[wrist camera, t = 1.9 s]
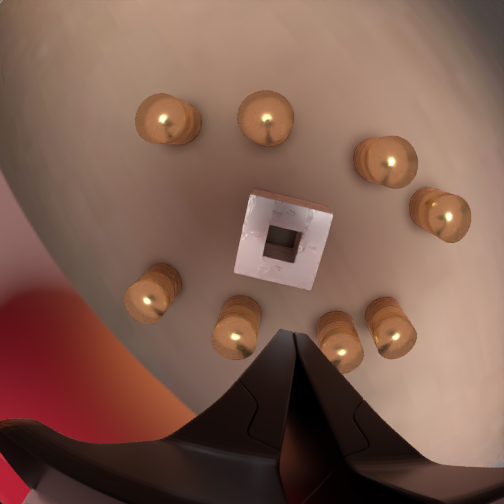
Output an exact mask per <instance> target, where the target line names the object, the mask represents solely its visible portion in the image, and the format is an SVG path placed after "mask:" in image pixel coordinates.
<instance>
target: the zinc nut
mask: <svg viewBox="0 0 504 504" xmlns="http://www.w3.org/2000/svg"><path fill="white" fill-rule="evenodd" d="M332 218H333V213H332V212H331V211H330V210H329V209H328V207H327V206H324V205H321V204H317V203H313V202H309V201H305V200H301V199H297V198H293V197H289V196H284V195H280V194H276V193H272V192H267V191H263V190H259V189H254V190H253V191H252V193H251V194H250V197H249V201H248V206H247V211H246V215H245V220H244V225H243V230H242V234H241V239H240V244H239V249H238V253H237V258H236V263H235V268H234V273H237V274H241V275H245V276H250V277H254V278H258V279H262V280H267V281H271V282H275V283H280V284H284V285H288V286H293V287H297V288H302V289H306V290H311V289H312V286H313V282H314V279H315V276H316V273H317V270H318V266H319V263H320V260H321V256H322V253H323V250H324V246H325V243H326V240H327V236H328V233H329V229H330V226H331V222H332ZM269 225H273V226H277V227H281V228H285V229H290V230H294V231H297V235H296V238H295V242H294V246H293V249H292V248H288V247H284V246H280V245H275V244H271V243H267V242H266V238H267V234H268V230H269Z"/></svg>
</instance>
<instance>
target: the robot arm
mask: <svg viewBox="0 0 504 504" xmlns="http://www.w3.org/2000/svg"><path fill="white" fill-rule="evenodd" d="M0 452H1V454H2V455H3V457H4V458H5V459H6V460H7V462H8V463H9V464H10V466H11V467H12V468H13V469H14V471H15V472H16V473H17V474H18V475H19V477H20V478H21V479H22V480H23V481H24V482H25V483H26V485H27V486H28V487H29V488H30V489H31V491H30V492H29V494H28V496H27V497H26V499H25V500H24V502H23V504H504V468H485V467H463V466H451V465H442V464H438V463H435V462H433V461H431V460H429V459H427V458H426V457H424V456H423V455H422V454H421V453H419V452H418V451H417V450H416V449H415V448H414V447H413V446H411V445H410V444H409V443H408V442H407V441H406V440H405V439H404V438H402V437H401V436H400V435H399V434H398V433H397V432H396V431H395V430H393V429H392V428H391V427H390V426H389V425H388V424H387V423H386V422H385V421H384V420H383V419H382V418H381V417H380V416H379V415H378V414H377V413H376V412H375V411H374V410H373V409H372V408H371V406H370V405H369V404H368V403H367V402H366V401H365V400H363V398H362V396H361V395H360V394H359V393H358V392H357V391H356V390H355V389H354V387H353V386H352V385H351V384H350V383H349V382H348V381H347V380H346V378H345V377H344V376H343V375H342V374H341V373H340V372H339V371H338V369H337V368H336V367H335V366H334V365H333V364H332V363H331V361H330V360H329V359H328V358H327V357H326V356H325V355H324V353H323V352H322V351H321V350H320V349H319V348H318V347H317V345H316V344H315V343H314V342H313V341H312V340H311V339H310V337H309V336H308V335H307V334H303V333H298V332H294V333H293V332H292V331H288V330H283V329H280V330H279V331H278V332H277V333H276V334H275V336H274V337H273V338H272V339H271V341H270V342H269V343H268V344H267V345H266V347H265V348H264V349H263V350H262V351H261V353H260V354H259V355H258V356H257V357H256V359H255V360H254V361H253V362H252V363H251V365H250V366H249V367H248V368H247V369H246V370H245V372H244V373H243V374H242V375H241V376H240V377H239V379H238V380H237V381H236V382H235V383H234V384H233V385H232V386H231V387H230V388H229V389H228V391H227V392H226V393H225V394H224V395H223V396H222V397H221V398H219V399H218V400H217V401H216V402H215V403H213V404H212V405H211V406H210V407H209V408H207V409H206V410H205V411H203V412H202V413H201V414H199V415H198V416H197V417H195V418H194V419H193V420H191V421H190V422H188V423H187V424H186V425H184V426H183V427H181V428H180V429H179V430H177V431H176V432H174V433H172V434H171V435H169V436H167V437H165V438H163V439H160V440H155V441H143V442H129V443H105V444H104V443H103V444H102V443H101V444H99V443H88V442H82V441H78V440H75V439H72V438H69V437H67V436H65V435H62V434H60V433H58V432H57V431H55V430H53V429H52V428H50V427H48V426H46V425H44V424H42V423H41V422H38V421H36V420H33V419H28V418H23V419H17V418H15V419H6V420H2V421H0ZM0 504H2V503H1V502H0Z"/></svg>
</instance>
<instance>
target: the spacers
mask: <svg viewBox="0 0 504 504" xmlns="http://www.w3.org/2000/svg"><path fill="white" fill-rule="evenodd" d="M293 122H294V112H293V109H292V106H291V105H290V103H289V102H288V100H287V99H286V98H285V97H283V96H282V95H280V94H279V93H276V92H273V91H258V92H255V93H253V94H251V95H249V96H248V97H247V98H246V99H245V100H244V101H243V102H242V104H241V105H240V107H239V110H238V124H239V127H240V129H241V131H242V132H243V133H244V135H245V136H246V137H248V138H249V139H250V140H252V141H254V142H256V143H258V144H261V145H264V146H274V145H277V144H280V143H282V142H283V141H284V140H285V139H286V138H287V137H288V136H289V134H290V132H291V129H292V126H293ZM135 125H136V129H137V132H138V133H139V135H140V136H141V137H142V138H143V139H144V140H146V141H147V142H150V143H159V144H178V145H180V144H186V143H188V142H190V141H192V140H193V139H194V138H195V137H196V136H197V134H198V133H199V130H200V127H201V117H200V114H199V112H198V111H197V109H196V108H195V107H193V106H192V105H190V104H188V103H186V102H183V101H181V100H179V99H177V98H175V97H173V96H171V95H168V94H164V93H160V94H155V95H152V96H150V97H148V98H147V99H146V100H144V101H143V103H142V104H141V105H140V106H139V108H138V110H137V113H136V117H135ZM354 164H355V168H356V170H357V171H358V173H359V174H360V175H361V176H362V177H363V178H364V179H366V180H369V181H372V182H374V183H377V184H380V185H383V186H386V187H389V188H394V189H397V188H402V187H405V186H407V185H408V184H409V183H410V182H411V181H412V180H413V179H414V177H415V175H416V173H417V169H418V158H417V155H416V152H415V150H414V148H413V147H412V145H411V144H410V143H409V142H408V141H407V140H405V139H403V138H401V137H398V136H386V137H379V138H372V139H367V140H365V141H363V142H361V143H360V144H359V145H358V147H357V148H356V150H355V153H354ZM410 215H411V217H412V219H413V221H414V222H415V223H416V224H417V225H419V226H420V227H422V228H424V229H425V230H427V231H428V232H430V233H432V234H433V235H435V236H437V237H438V238H440V239H441V240H443V241H445V242H447V243H454V242H457V241H459V240H461V239H462V238H463V237H464V236H465V235H466V233H467V231H468V229H469V227H470V223H471V211H470V208H469V205H468V204H467V202H466V201H465V200H464V199H463V198H461V197H459V196H456V195H453V194H450V193H447V192H443V191H440V190H437V189H433V188H430V187H424V188H421V189H419V190H418V191H417V192H416V193H415V194H414V195H413V197H412V199H411V202H410ZM180 290H181V279H180V276H179V274H178V273H177V272H176V270H175V269H173V268H172V267H171V266H169V265H166V264H156V265H153V266H152V267H151V268H150V269H149V270H147V271H146V272H145V273H144V274H143V275H142V276H141V277H140V278H139V279H138V280H137V281H136V282H135V283H134V284H133V285H132V286H130V287H129V288H128V289H127V291H126V292H125V295H124V304H125V307H126V309H127V311H128V312H129V314H130V315H131V316H132V317H133V318H134V319H136V320H137V321H139V322H141V323H144V324H153V323H156V322H158V321H159V320H160V319H161V317H162V316H163V315H164V313H165V312H166V310H167V309H168V307H169V306H170V305H171V303H172V302H173V300H174V299H175V297H176V296H177V295H178V293H179V292H180ZM260 316H261V312H260V308H259V306H258V304H257V303H256V302H255V301H254V300H252V299H251V298H248V297H245V296H235V297H232V298H230V299H228V300H227V301H226V302H225V304H224V306H223V308H222V311H221V313H220V316H219V318H218V321H217V324H216V326H215V329H214V332H213V334H212V339H211V340H212V345H213V347H214V349H215V350H216V351H217V352H218V353H219V354H220V355H222V356H223V357H225V358H228V359H233V360H240V359H244V358H247V357H249V356H250V355H251V354H252V353H253V352H254V350H255V348H256V343H257V336H258V329H259V323H260ZM365 320H366V323H367V325H368V328H369V330H370V332H371V335H372V337H373V339H374V342H375V344H376V347H377V349H378V351H379V353H380V355H381V356H383V357H384V358H387V359H396V358H399V357H402V356H404V355H405V354H407V353H408V352H409V351H410V350H411V349H412V348H413V346H414V345H415V342H416V339H417V333H416V330H415V329H414V327H413V325H412V324H411V322H410V321H409V319H408V318H407V316H406V315H405V313H404V312H403V310H402V309H401V307H400V306H399V304H398V303H397V301H395V300H394V299H392V298H389V297H383V298H379V299H377V300H375V301H374V302H373V303H371V304H370V306H369V307H368V309H367V311H366V314H365ZM317 336H318V343H319V349H320V350H321V351H322V352H323V353H324V355H325V356H326V357H327V358H328V359H329V360H330V361H331V363H332V364H333V365H334V366H335V367H336V368H337V369H338V371H339V372H340V373H341V374H344V373H348V372H350V371H352V370H354V369H355V368H357V367H358V366H359V365H360V363H361V362H362V360H363V357H364V352H363V348H362V346H361V343H360V340H359V337H358V334H357V331H356V329H355V326H354V323H353V320H352V318H351V317H350V316H349V315H348V314H346V313H344V312H341V311H334V312H330V313H327V314H326V315H324V316H323V317H322V318H321V319H320V320H319V322H318V324H317Z"/></svg>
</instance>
